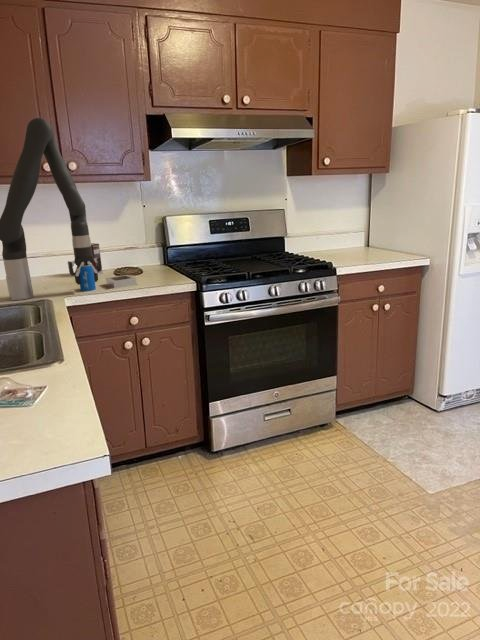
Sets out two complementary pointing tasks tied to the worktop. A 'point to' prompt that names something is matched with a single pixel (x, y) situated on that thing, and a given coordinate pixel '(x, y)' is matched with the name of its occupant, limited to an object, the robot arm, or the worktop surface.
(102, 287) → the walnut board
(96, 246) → the supplement box
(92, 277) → the beverage can
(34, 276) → the worktop surface
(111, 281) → the metal collar
